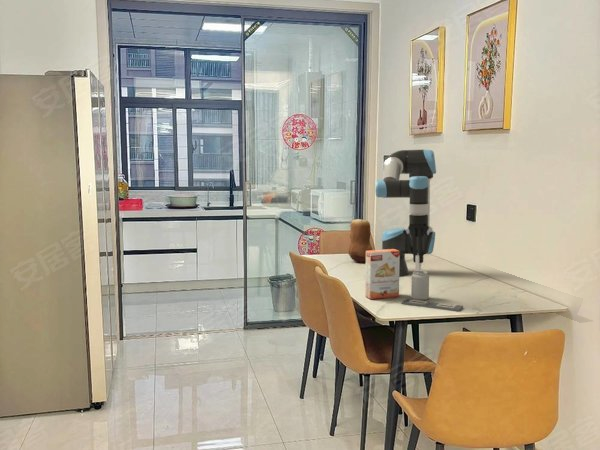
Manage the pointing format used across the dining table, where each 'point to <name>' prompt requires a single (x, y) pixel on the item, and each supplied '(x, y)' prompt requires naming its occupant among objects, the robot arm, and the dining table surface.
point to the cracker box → (382, 273)
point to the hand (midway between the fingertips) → (418, 270)
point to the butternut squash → (359, 240)
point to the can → (420, 285)
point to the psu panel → (432, 305)
